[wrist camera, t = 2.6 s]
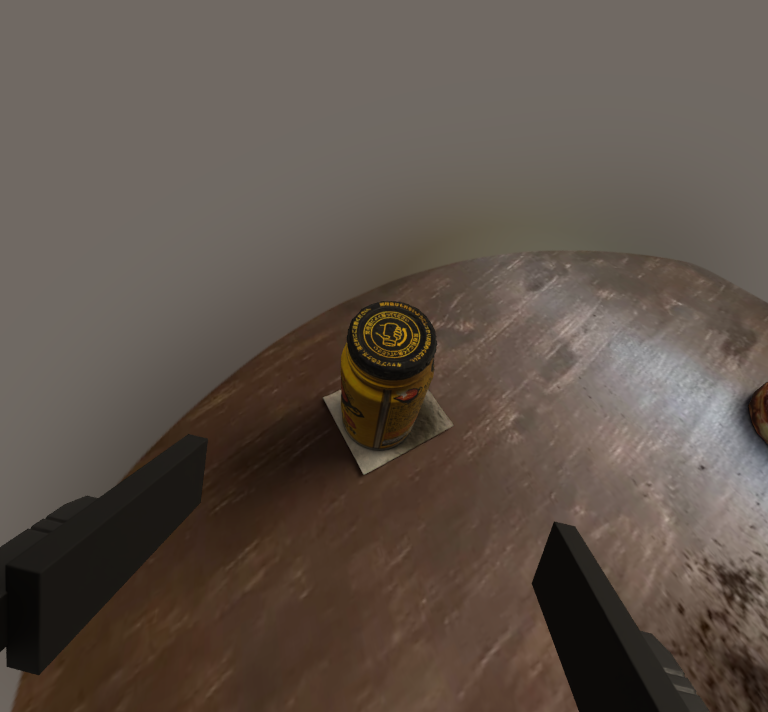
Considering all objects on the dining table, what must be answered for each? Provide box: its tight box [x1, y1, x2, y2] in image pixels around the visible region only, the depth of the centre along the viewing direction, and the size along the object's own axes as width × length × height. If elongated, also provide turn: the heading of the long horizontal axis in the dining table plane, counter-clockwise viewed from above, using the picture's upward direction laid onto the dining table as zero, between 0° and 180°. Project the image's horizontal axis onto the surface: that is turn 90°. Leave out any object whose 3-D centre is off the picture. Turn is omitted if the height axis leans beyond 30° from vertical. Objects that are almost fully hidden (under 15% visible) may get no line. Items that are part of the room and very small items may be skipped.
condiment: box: [323, 301, 454, 474], centre depth 27 cm, size 7×8×12 cm
